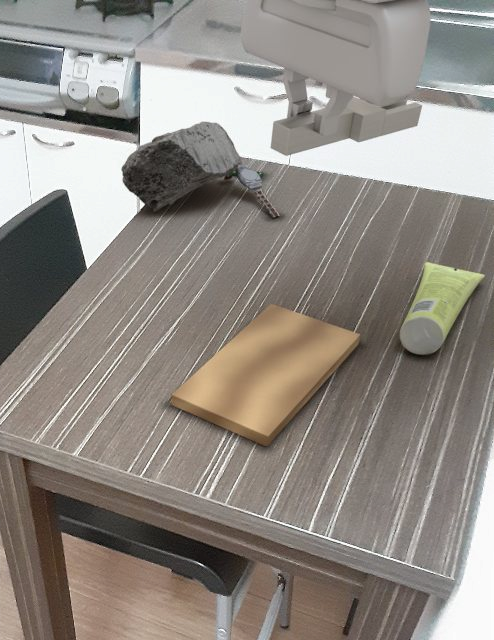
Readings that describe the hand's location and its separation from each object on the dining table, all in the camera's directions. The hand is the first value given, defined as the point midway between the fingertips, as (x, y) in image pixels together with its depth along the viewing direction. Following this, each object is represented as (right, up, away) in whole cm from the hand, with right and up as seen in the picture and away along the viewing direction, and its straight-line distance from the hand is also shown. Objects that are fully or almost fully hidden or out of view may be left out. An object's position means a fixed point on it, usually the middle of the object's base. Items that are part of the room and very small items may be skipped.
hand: (311, 127), depth 73 cm
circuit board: (+2, +18, +52) cm, 55 cm away
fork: (+4, 0, +3) cm, 5 cm away
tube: (+16, -18, +13) cm, 27 cm away
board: (-2, -22, +14) cm, 26 cm away
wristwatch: (+1, +10, +45) cm, 46 cm away
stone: (-17, +17, +44) cm, 50 cm away
